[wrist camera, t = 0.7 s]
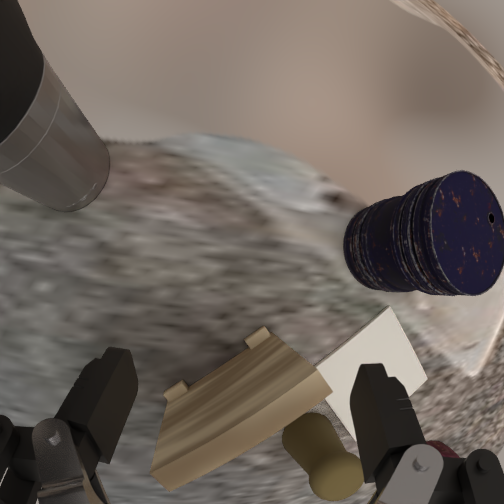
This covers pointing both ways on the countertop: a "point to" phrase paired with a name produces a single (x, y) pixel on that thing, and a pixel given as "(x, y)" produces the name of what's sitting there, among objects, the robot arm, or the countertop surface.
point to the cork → (323, 457)
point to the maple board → (233, 409)
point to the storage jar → (430, 239)
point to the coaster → (370, 351)
